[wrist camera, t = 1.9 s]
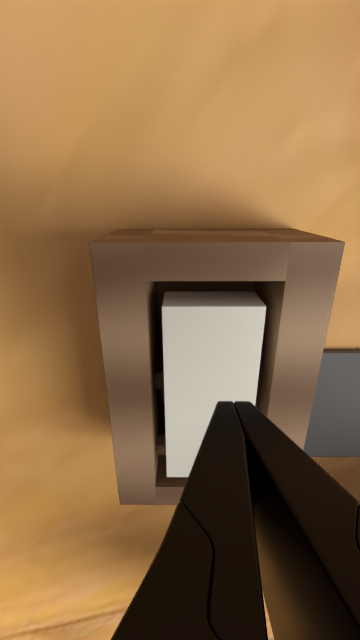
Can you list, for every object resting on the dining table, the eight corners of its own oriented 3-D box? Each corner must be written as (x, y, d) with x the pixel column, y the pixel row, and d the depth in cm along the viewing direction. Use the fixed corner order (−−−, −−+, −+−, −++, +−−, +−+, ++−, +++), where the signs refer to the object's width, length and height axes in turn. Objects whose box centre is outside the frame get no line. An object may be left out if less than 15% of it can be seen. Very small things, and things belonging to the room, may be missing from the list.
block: (240, 446, 17) (247, 477, 15) (168, 446, 17) (166, 477, 15) (254, 291, 13) (266, 306, 11) (164, 291, 13) (161, 306, 11)
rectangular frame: (266, 434, 20) (292, 505, 15) (134, 434, 20) (119, 504, 15) (294, 229, 15) (345, 242, 10) (118, 229, 15) (89, 242, 10)
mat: (401, 452, 20) (405, 457, 20) (286, 451, 21) (288, 456, 20) (439, 350, 17) (444, 353, 17) (303, 349, 18) (306, 353, 17)
